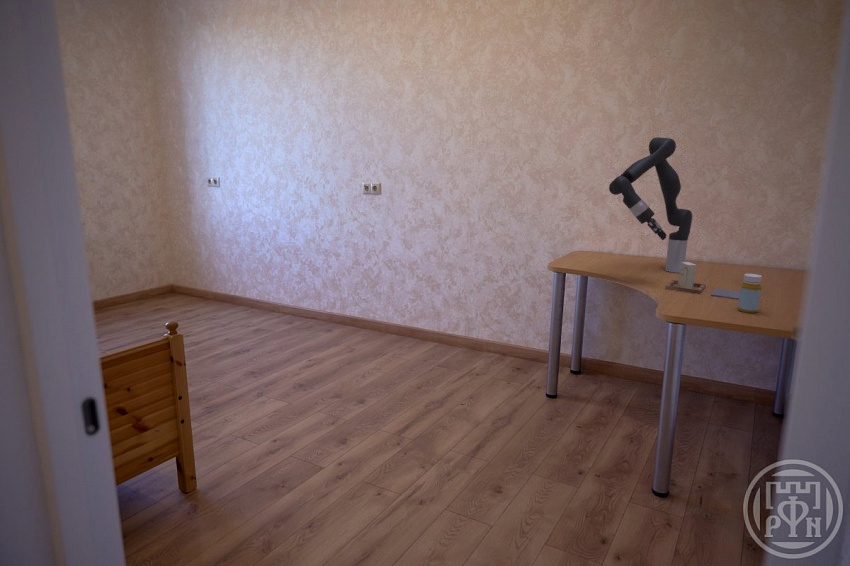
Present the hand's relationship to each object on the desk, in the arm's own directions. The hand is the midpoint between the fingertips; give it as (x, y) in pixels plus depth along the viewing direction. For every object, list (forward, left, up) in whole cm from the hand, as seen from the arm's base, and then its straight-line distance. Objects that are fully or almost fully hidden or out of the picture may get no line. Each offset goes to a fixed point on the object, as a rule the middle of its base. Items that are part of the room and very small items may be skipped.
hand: (664, 237), depth 263 cm
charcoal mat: (-1, +29, -23) cm, 37 cm away
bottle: (+23, +39, -23) cm, 51 cm away
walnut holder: (-2, +11, -23) cm, 26 cm away
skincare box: (-2, +11, -24) cm, 26 cm away
